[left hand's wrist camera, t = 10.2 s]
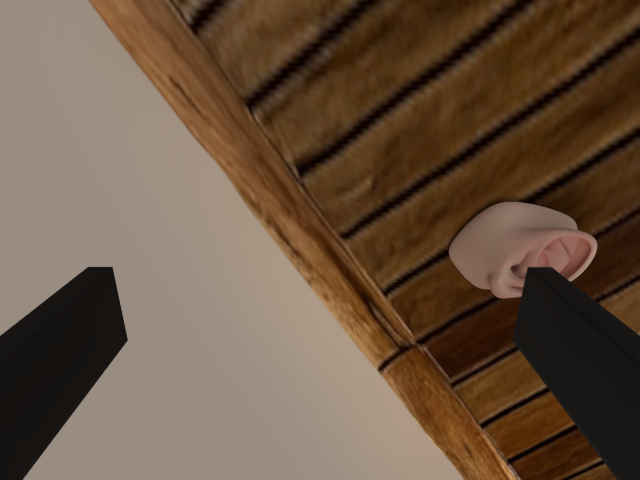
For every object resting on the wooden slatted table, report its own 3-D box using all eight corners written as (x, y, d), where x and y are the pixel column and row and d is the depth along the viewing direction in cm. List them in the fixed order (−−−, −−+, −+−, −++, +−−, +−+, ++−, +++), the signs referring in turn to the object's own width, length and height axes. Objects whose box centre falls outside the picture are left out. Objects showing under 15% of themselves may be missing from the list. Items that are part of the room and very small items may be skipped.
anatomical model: (445, 285, 42) (504, 188, 38) (435, 269, 46) (487, 179, 42) (549, 327, 44) (615, 238, 40) (532, 308, 48) (590, 225, 44)
